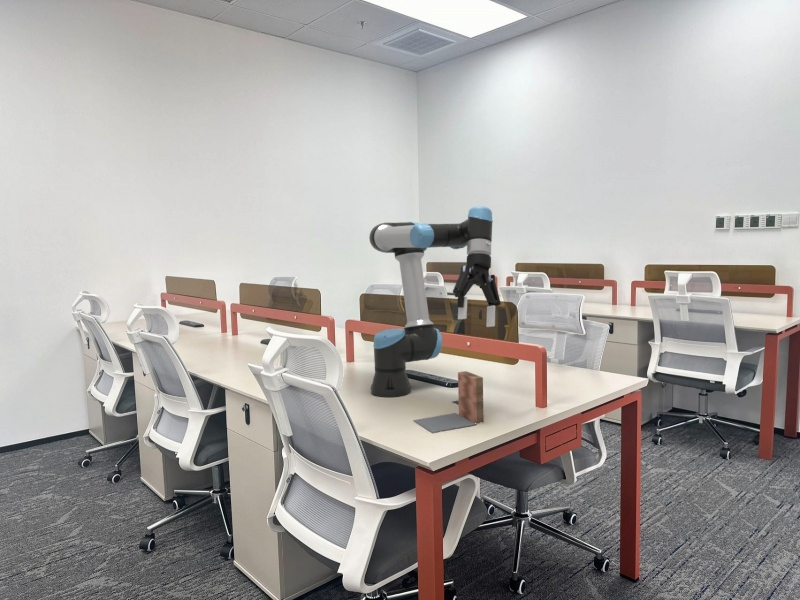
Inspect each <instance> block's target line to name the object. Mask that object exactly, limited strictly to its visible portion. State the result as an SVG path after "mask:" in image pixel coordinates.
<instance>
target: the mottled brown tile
mask: <svg viewBox="0 0 800 600" xmlns="http://www.w3.org/2000/svg"><path fill="white" fill-rule="evenodd" d="M457 379H458V380H457V385H458V387H457V388H458V391H457V393H458V395H457V396H458V401H459V405H458V415H460V416H462V417H464V418H466V419H468V420H469V421H471V422H473V423H476V424H480V422H482V423H484V422H485V419H484V418H485V417H484V416H485V415H484V413H485V412H484V377H483V376H479V375H477V374H474V373H472V372H469V371H468V370H467V371H466V370H465V371H458V372H457Z"/></svg>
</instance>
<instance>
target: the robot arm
mask: <svg viewBox="0 0 800 600" xmlns="http://www.w3.org/2000/svg"><path fill="white" fill-rule="evenodd" d="M467 214H468V215H467V219H466V220H464V221H462V222H459V223H419V222H413V221H406V222H405V221H404V222H383V223H379V224H377V225H375V226H374V227H373V228H372V229H371V231H370V233H369V237H368V238H369V244H370V245H371V246H372V248H373V249H374V250H376V251H377V252H381V253H384V254H388V253H390V254H393V255H394V258H395V260H396V261H397V262H399V270H400V276H401V277H400V278H401V284H402V290H403V291H402V293H403V299H404V306H405V314H406V324H405V326H404V327H403V328H398V327H397V328H389V329H383V330H380V331H379V332H377V333H376V334H374V337H373V354H374V355H373V357H374V376H373V378H372V379H373V380H372V383H371V386H370V393H371V394H372V395H373V396H377V397H382V398H383V397H384V398H394V397H395V398H396V397H401V396H406V395H408V394H411V392H412V385H411V382H410V380H409V376H408V373H407V371H406V370H407V369H406V367H407V365H406V363H412V362H420V361H428V360H430V359H431V360H432V359H435V358H437V357H438V356H439V355H440V352H441V351H442V348H443V337H442V333H441V330H440V329H438V328H435V324H434V322H432V321H431V319H430V314H429V308H428V300H427V294H426V285H425V277H424V271H423V264H422V263H423V262H422V258H424V256H425V252H426V250H427V249H429V248H451V249H453V250H459V249H463V248H465V247H466V255H467V256H466V265H463V266H461V267H460V273H459V276H458V278H457V281H456V283H455V285H454V287H453V290H452V293H453V294H454V297H455V298H457V309H458V310H457V311H458V312H457V320H466V319H467V313H468V296H467V294H468V292H469V291H470V290H471V288H472V287H473V286H474V285H476V286H477V287H478V288H479V289H481V290H482V293H483V295H484V297H485V301H486V302H487V304H488V305H487V306H486V328H492V327H493V328H494V327H495V326H496V316H497V315H496V313H497V311H496V310H497V307H499V306H501V305H502V304H501V299H500V296H499V291H498V287H497V284H496V275H495V274H489V269H491V267H492V257H491V255H492V241H493V212H492V209H490V208H489V207H486V206H484V205H483V206H480V205H479V206H473V207H471V208H470V209H469V210H468V213H467Z"/></svg>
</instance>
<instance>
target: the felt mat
mask: <svg viewBox="0 0 800 600" xmlns="http://www.w3.org/2000/svg"><path fill="white" fill-rule="evenodd" d="M412 421H413V422H414V423H416V424H417V425H419V426H420V427H422V428H424V429H426V431H428V430H429V431H428V432H430V433H431V432H432V433H431V434H434V433H433V432H436V433H441V432H440V431H442V432H447V431H452V429H453V430H458V429H462V428H463V427H464V428H468V427H469V428H470V427H473V426H474V425H475V426H477V423H476V424H475V423H473V422H471V421H469V420H468V419H466V418H464V417H462V416H460V415H459V413H456V412H453V413H452V412H451V413H448V414H442V415H441V414H440V415H435V416H430V417H424V418H417V419H413V420H412ZM457 428H458V429H457ZM464 428H463V429H464ZM446 430H447V431H446Z"/></svg>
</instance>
